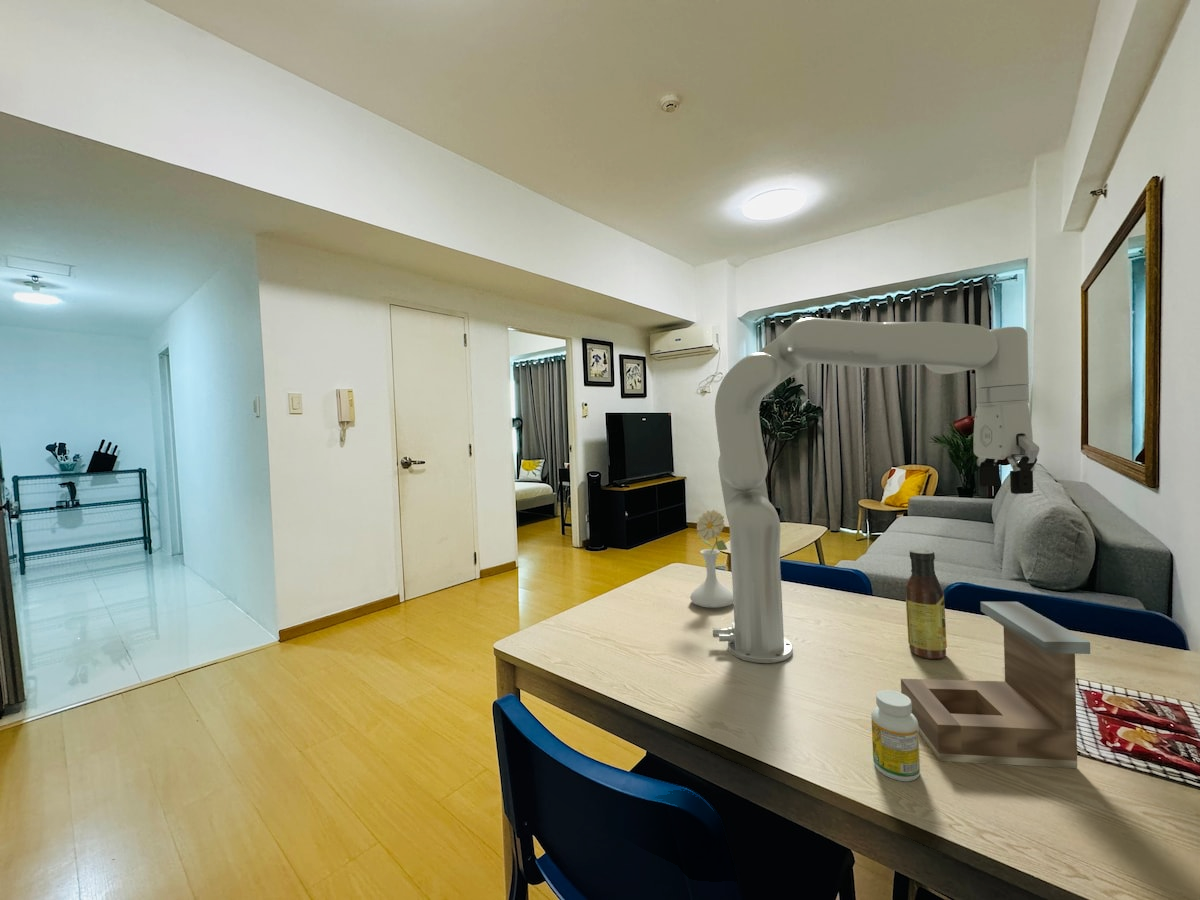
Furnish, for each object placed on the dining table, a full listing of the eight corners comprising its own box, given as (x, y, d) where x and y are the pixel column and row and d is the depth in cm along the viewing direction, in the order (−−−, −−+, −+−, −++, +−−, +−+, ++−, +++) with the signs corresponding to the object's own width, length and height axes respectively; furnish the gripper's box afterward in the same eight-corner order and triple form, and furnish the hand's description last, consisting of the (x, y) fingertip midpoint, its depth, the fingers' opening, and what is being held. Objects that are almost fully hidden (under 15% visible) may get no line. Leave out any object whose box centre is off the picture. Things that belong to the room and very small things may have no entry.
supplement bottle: (916, 789, 62) (914, 714, 61) (868, 771, 65) (866, 701, 65) (923, 764, 66) (920, 694, 65) (877, 749, 69) (875, 683, 69)
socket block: (942, 765, 65) (938, 640, 65) (899, 705, 79) (895, 601, 78) (1092, 774, 62) (1090, 642, 61) (1020, 710, 76) (1017, 601, 75)
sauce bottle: (953, 661, 92) (950, 555, 91) (916, 660, 93) (912, 556, 92) (937, 645, 98) (933, 546, 97) (902, 644, 99) (898, 547, 98)
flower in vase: (683, 600, 132) (677, 507, 131) (720, 593, 135) (715, 503, 134) (707, 617, 119) (701, 515, 118) (748, 609, 123) (743, 509, 122)
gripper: (954, 400, 100) (957, 484, 101) (1008, 396, 83) (1011, 497, 84) (996, 397, 98) (999, 482, 99) (1060, 392, 81) (1062, 495, 82)
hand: (1004, 489), depth 91 cm, fingers open, 9 cm apart
